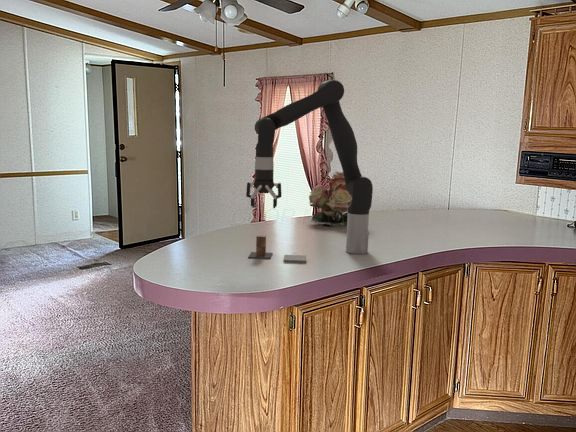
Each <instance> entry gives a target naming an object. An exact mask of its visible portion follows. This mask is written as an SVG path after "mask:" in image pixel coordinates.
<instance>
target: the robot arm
mask: <svg viewBox="0 0 576 432" xmlns="http://www.w3.org/2000/svg"><path fill="white" fill-rule="evenodd" d="M344 94H345V87H344V84H342V82H341V81H339V80H336V79H331V80H330V79H329V80H325V81H323V82H321V83H320V84H319V85H318V87H317V91H315V92H313V93H311V94H309V95H307V96H305V97H303V98H301V99H298V100H295V101H293V102H291V103H289V104H286V105H285V106H283V107H281V108H279V109H278V110H276V111H275V112H272V113H270V114H268V115H265V116H262V117H261V118H260V119H258V120H257V121H256V122H255V124H254V131H255V133H256V134H257V143H256V145H255V160H254V182H250V181H248V182H247V183H246V194H245V195H246V197H247V198H250V206H251V207H252V208H253V209H254V208H255V207H256V200H255V199H256V198H255V197H256V195H258V193H259V194H270V195H271V196H272V198H273V199H272V204H273V205H272V209H275V208H277V205H278V199H280V198H282V183H281V182H278V183H276V182H274V171H275V170H274V142H275V136H276V131H277V130H278V129H279V128H284V127H286V126H288V125H290V124H292V123H294V122H296V121H298V120H299V119H301V118H303V117H305V116H306V115H308V114H310V113H312V112H313V111H315V110H318V109H320V108H323V109H322V110H323V112H324V113H325V117H326V120H327V124H328V128H329V131H330V135H331V138H332V141H333V142H332V143H333V145H334V148H335V151H336V154H337V156H338V159H339V163H340V166H341V168H342V172H343V174H344V179H345V184H346V188H347V191H348V193H349V194H350V195H352V203H351V205H350V206H349V207H348V218H347V226H346V239H345V240H346V242H345V243H346V244H345V251H346V252H347V253H349V254H355V255H363V254H365V255H366V254H368V252H369V233H370V232H369V224H370V223H369V222H370V221H369V219H370V209H371V208H372V203H373V202H372V201H373V189H374V188H373V183H372V180H370V179H369V177H366V176H363V175H362V173H361V170H360V167H359V165H358V143H357V139H356V136H355V132H354V130H353V128H352V125H351V123H350V122H349V121H348V119H347V117H346V116H345V114H344V111H343V110H342V107H341V106H342V105H341V103H340V101H341V100H342V98H343V97H344ZM253 187H254V188H255V190H254V191H253V193H252V194H251V188H253ZM274 187H276V189H277V194H276V193H275V191H274V190H273V188H274Z"/></svg>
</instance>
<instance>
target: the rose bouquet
mask: <svg viewBox="0 0 576 432" xmlns="http://www.w3.org/2000/svg"><path fill="white" fill-rule="evenodd" d="M332 174H333V175H332V176H331V178H329V180H328V185H329V188H327V187H325V186H323V185H322V184H320V185H317V186H315V187H314V188H313V190H312V191H310V192H309V196H308V200H309V206H310V207H312V208H313V211H314V210H317V209H318V210H319V209H321V211H317V213H315V214H313V216H312V217H311V219H310V222H313V223H317V225H329V227H332V228H341V227H345V226H346V227H347V218H348V207H349V206H350V205H351V203H352V195H350V194H349V193H348V191H347V188H346V184H345V179H344V174H343V171H342V172H339V171H334V173H332ZM340 226H341V227H340Z"/></svg>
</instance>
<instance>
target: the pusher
mask: <svg viewBox="0 0 576 432" xmlns="http://www.w3.org/2000/svg"><path fill="white" fill-rule="evenodd" d="M255 245H256V247H255V252H256V256H265V254H266V253H267V235H266V234H256V241H255Z"/></svg>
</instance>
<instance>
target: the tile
mask: <svg viewBox="0 0 576 432" xmlns="http://www.w3.org/2000/svg"><path fill="white" fill-rule="evenodd" d="M284 262H285V264H307V255H303V254H284V255H283V263H284Z"/></svg>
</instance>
